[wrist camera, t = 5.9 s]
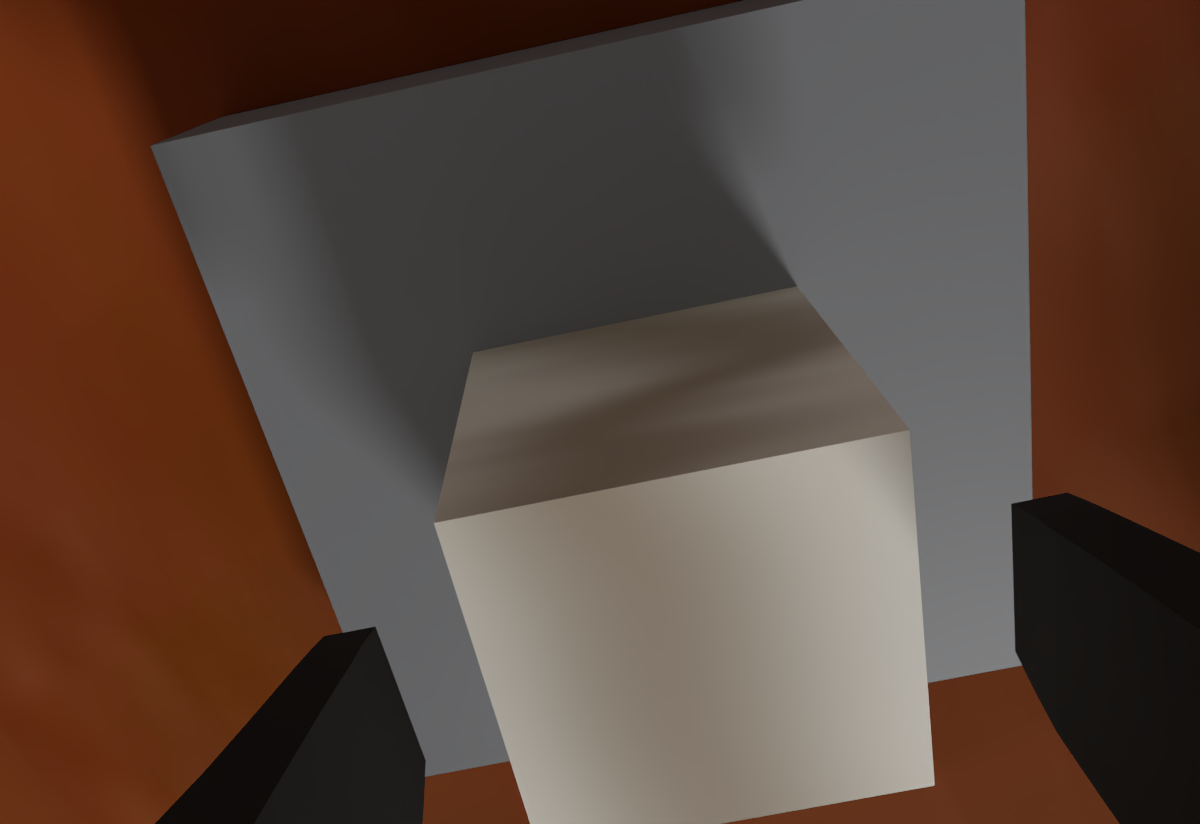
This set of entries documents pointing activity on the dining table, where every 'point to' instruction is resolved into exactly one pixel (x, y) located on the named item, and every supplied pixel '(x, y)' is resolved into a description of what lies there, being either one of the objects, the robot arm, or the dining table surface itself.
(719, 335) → the cream cube
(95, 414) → the dining table surface
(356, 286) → the gray base
